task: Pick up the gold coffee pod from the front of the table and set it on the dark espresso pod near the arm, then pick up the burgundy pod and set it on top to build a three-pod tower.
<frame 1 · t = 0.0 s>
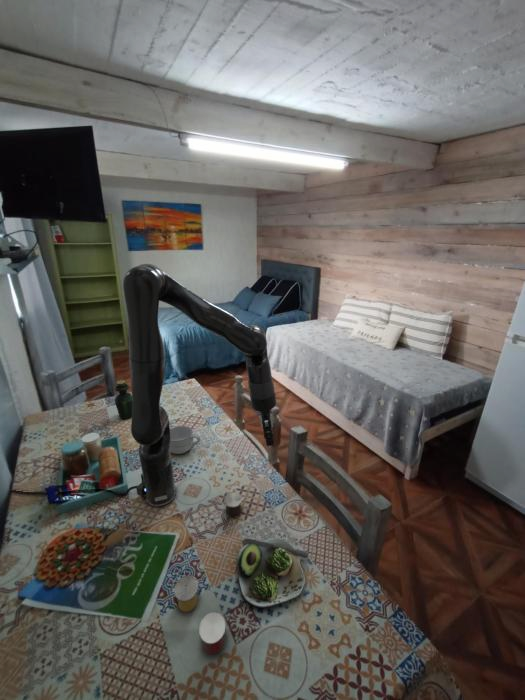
hand: (269, 436, 99), 22 cm above the table, tool pointing down, fingers open, 8 cm apart
potion bottle: (127, 416, 150), on the table
base pod: (233, 511, 100), on the table
burgundy pod: (213, 641, 69), on the table
teacup: (184, 450, 127), on the table
salad plate: (267, 572, 82), on the table
gold pod: (188, 600, 76), on the table
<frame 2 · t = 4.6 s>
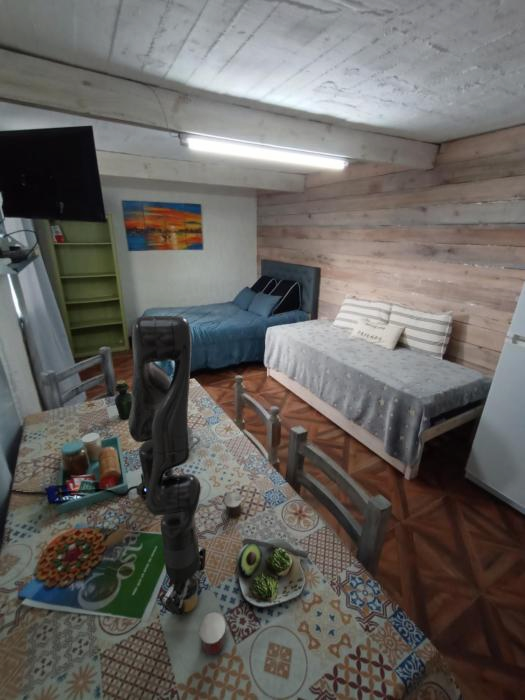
hand: (187, 599, 76), 0 cm above the table, tool pointing down, fingers closed on gold pod, 5 cm apart
gold pod: (188, 600, 76), on the table, touching gripper
everything else where it was.
when the fingers open (5 cm above the table, at t = 11.7 s): gold pod stays where it is, resting on base pod.
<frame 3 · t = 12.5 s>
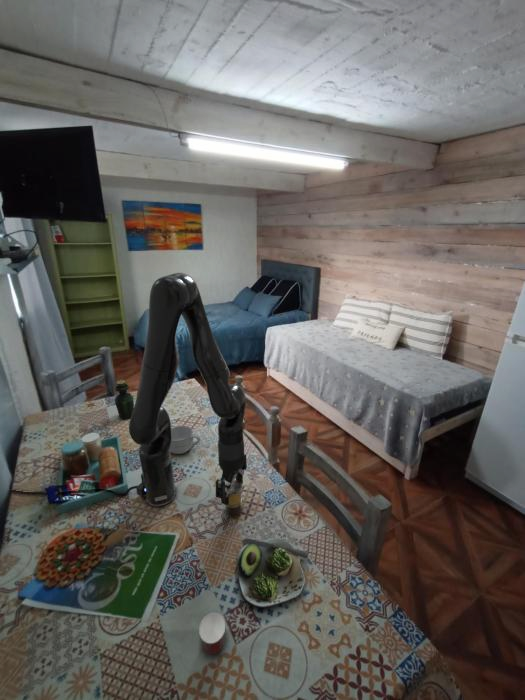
hand: (232, 493, 97), 7 cm above the table, tool pointing down, fingers open, 8 cm apart
base pod: (233, 511, 100), on the table, touching gold pod
gold pod: (233, 499, 98), point 5 cm above the table, touching base pod
everything else where it was.
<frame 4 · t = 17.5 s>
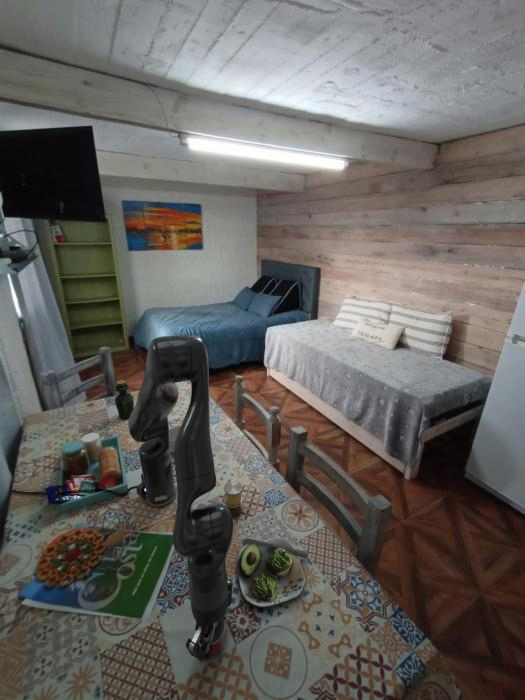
hand: (213, 639, 68), 0 cm above the table, tool pointing down, fingers closed on burgundy pod, 5 cm apart
burgundy pod: (213, 641, 69), on the table, touching gripper
everything else where it was.
when the fingers open (10 cm above the table, at t = 24.5 s): burgundy pod stays where it is, resting on gold pod.
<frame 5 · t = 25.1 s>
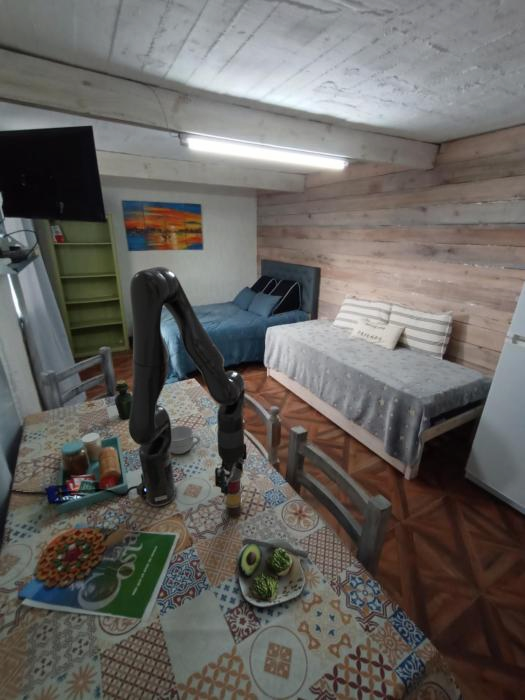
hand: (232, 483, 96), 11 cm above the table, tool pointing down, fingers open, 8 cm apart
burgundy pod: (233, 487, 96), point 10 cm above the table, touching gold pod
gold pod: (233, 499, 98), point 5 cm above the table, touching base pod, burgundy pod
everything else where it was.
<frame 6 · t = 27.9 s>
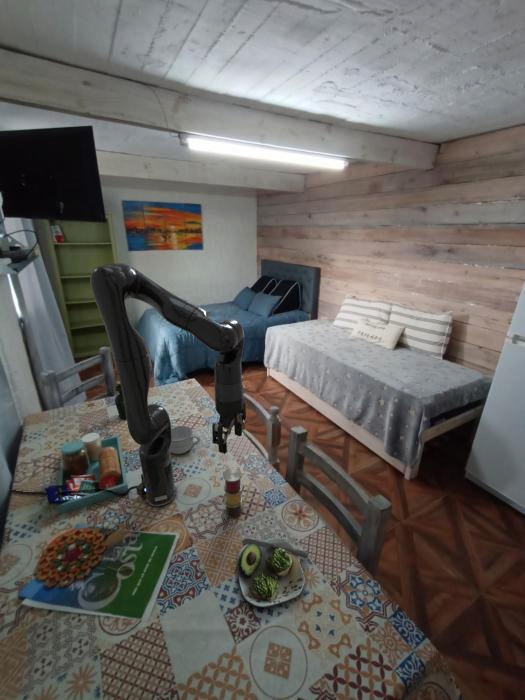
hand: (230, 443, 90), 26 cm above the table, tool pointing down, fingers open, 8 cm apart
nothing on the table moved.
at the end: gold pod 0.2 cm off-centre on the base pod, point 5.0 cm above the base pod's base; burgundy pod 0.1 cm off-centre on the base pod, point 10.0 cm above the base pod's base; burgundy pod tilted 0° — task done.
